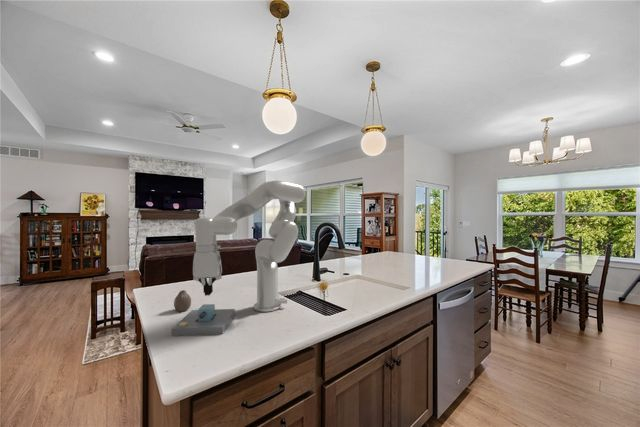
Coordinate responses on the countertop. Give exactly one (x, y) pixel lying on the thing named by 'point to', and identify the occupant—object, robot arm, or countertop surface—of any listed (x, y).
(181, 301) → the brown egg-shaped lump
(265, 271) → the robot arm
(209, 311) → the plug
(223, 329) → the socket plate
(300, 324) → the countertop surface
